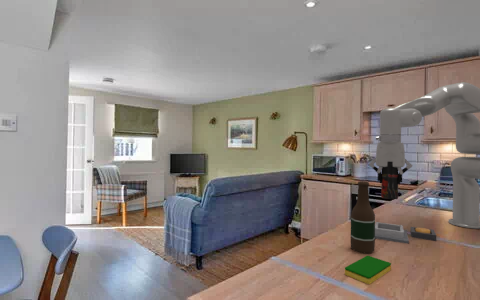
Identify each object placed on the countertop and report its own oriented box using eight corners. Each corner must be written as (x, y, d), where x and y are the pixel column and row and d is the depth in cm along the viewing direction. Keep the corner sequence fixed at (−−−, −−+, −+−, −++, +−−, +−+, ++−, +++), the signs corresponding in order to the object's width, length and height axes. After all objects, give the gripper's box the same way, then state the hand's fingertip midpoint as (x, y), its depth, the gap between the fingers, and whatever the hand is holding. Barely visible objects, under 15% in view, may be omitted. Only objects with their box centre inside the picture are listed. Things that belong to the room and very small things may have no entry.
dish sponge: (344, 275, 75) (344, 267, 75) (367, 262, 84) (367, 254, 84) (369, 286, 70) (369, 277, 70) (391, 270, 79) (391, 262, 78)
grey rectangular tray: (372, 228, 118) (372, 220, 118) (406, 233, 111) (406, 224, 111) (369, 237, 106) (370, 228, 106) (408, 243, 99) (408, 234, 99)
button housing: (410, 231, 113) (410, 226, 113) (433, 234, 109) (433, 229, 109) (411, 237, 106) (411, 231, 106) (436, 240, 102) (436, 235, 102)
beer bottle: (372, 247, 96) (374, 180, 95) (376, 255, 88) (377, 183, 88) (349, 244, 98) (350, 179, 98) (351, 252, 91) (352, 182, 90)
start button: (414, 231, 111) (415, 226, 111) (429, 233, 109) (429, 228, 109) (415, 235, 107) (416, 230, 107) (431, 237, 104) (431, 232, 104)
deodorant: (400, 199, 105) (400, 161, 105) (384, 199, 106) (384, 161, 106) (394, 196, 111) (395, 160, 110) (379, 196, 112) (379, 160, 112)
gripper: (366, 139, 109) (365, 183, 109) (416, 138, 100) (415, 186, 101) (367, 139, 115) (367, 180, 116) (414, 139, 107) (414, 183, 107)
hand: (389, 183), depth 108 cm, fingers closed on deodorant, 5 cm apart
